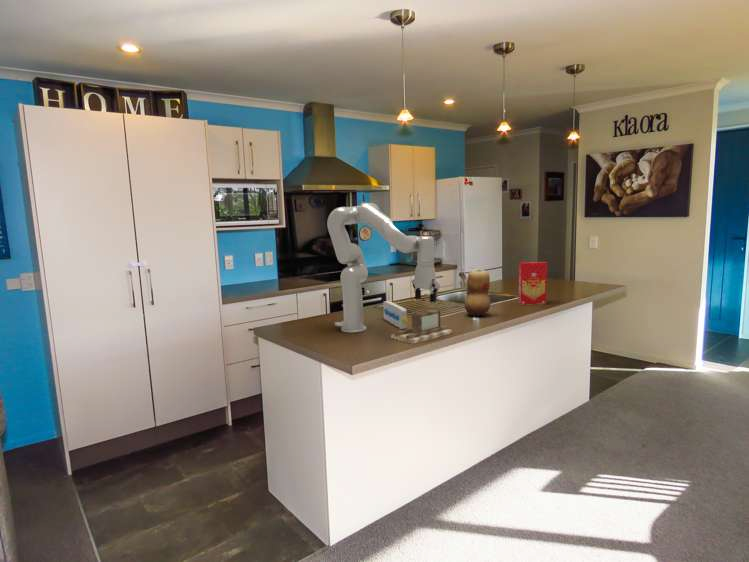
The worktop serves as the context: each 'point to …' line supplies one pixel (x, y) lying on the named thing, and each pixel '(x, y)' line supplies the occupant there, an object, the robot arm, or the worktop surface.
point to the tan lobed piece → (477, 292)
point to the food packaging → (532, 282)
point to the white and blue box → (395, 314)
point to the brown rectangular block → (425, 321)
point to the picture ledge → (421, 334)
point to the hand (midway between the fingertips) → (425, 300)
